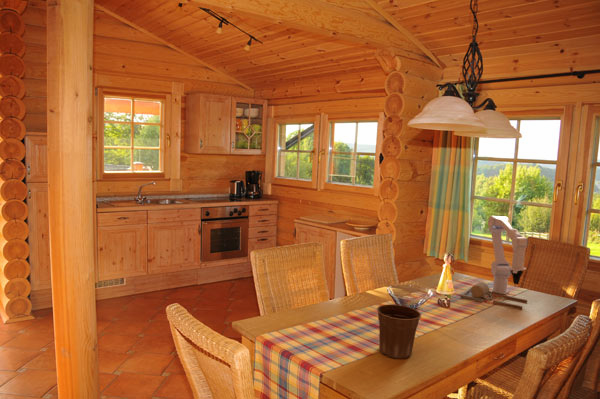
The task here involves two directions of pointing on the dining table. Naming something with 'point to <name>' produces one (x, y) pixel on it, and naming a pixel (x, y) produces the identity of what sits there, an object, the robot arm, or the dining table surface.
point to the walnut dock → (508, 303)
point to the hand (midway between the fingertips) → (516, 283)
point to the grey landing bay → (471, 297)
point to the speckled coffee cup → (481, 290)
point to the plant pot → (397, 330)
